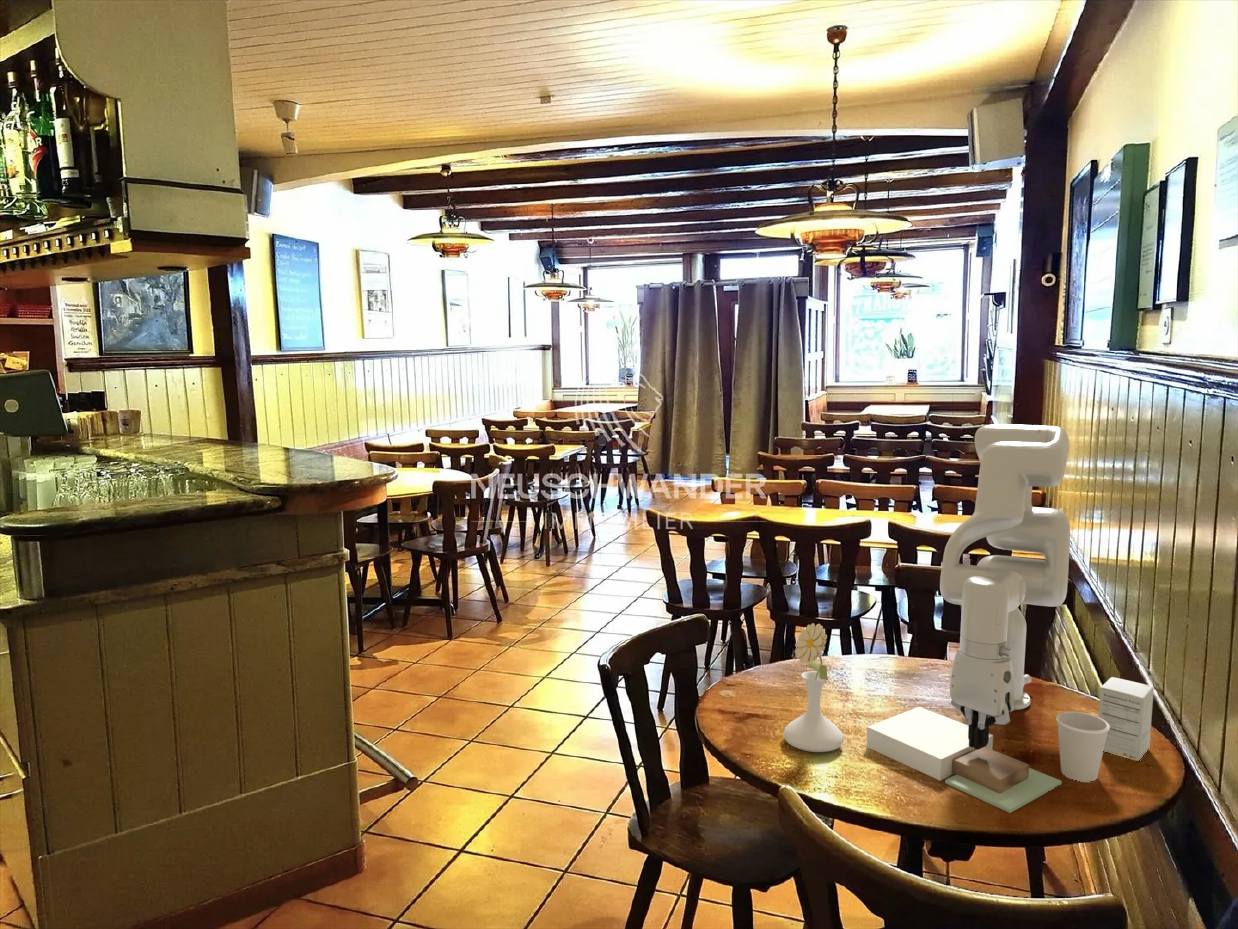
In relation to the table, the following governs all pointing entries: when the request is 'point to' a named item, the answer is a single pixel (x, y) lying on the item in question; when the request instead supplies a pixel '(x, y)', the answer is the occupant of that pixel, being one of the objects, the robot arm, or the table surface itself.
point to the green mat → (1008, 790)
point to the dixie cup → (1081, 744)
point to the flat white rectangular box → (922, 741)
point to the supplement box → (1126, 716)
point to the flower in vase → (813, 698)
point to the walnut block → (990, 769)
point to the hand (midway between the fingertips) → (977, 746)
